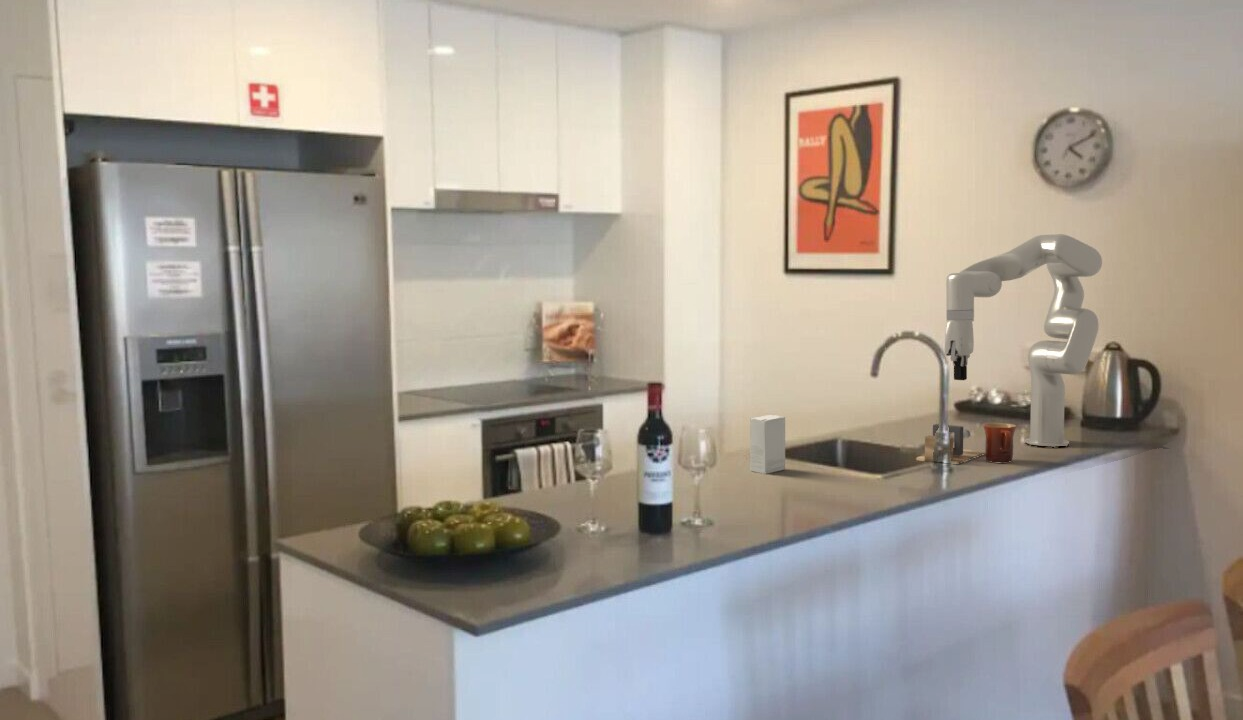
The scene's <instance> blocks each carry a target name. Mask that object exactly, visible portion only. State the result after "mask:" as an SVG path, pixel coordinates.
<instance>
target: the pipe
mask: <svg viewBox="0 0 1243 720" xmlns="http://www.w3.org/2000/svg"><path fill="white" fill-rule="evenodd" d="M949 435H950V437H952V438H953V443H954V433H953V432H952V433H950V434H949ZM970 437H971V432H970V430H968V429H963V440H965V439H968V438H970Z"/></svg>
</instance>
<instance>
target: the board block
mask: <svg viewBox="0 0 1243 720" xmlns="http://www.w3.org/2000/svg"><path fill="white" fill-rule="evenodd" d="M934 446H935V436H933V434H932V435H926V436H925V437H924V454H923V455H920V456H917V457H916V459H915V460H916V461H919V462H928V463H933V462H932V459H933V452H934ZM953 448H954V442H953V438H952V437H950V458H951V462H953V463H956V464H958V463H961V462H964V461H966V460H969V459H972V458H974V457H977V456H980V455H982V454H985V451H981V450H980V451H979V450H971V449H964V448H963V455H960V456H958V455H953ZM972 460H973V459H972ZM964 463H965V462H964Z"/></svg>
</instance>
